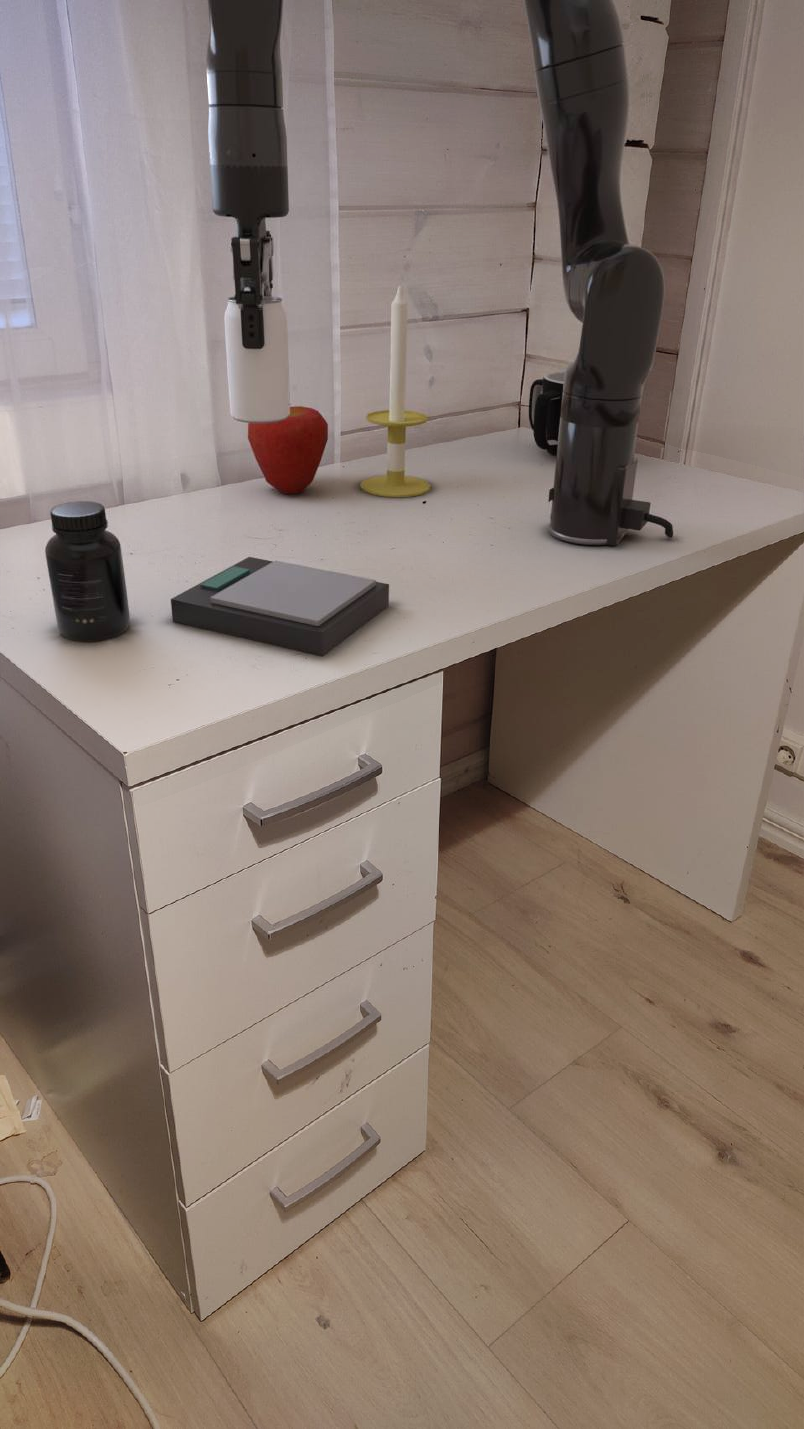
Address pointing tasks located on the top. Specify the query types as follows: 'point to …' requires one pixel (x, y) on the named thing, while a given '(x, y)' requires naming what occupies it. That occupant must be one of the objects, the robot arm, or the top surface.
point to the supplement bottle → (86, 573)
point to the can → (258, 366)
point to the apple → (290, 448)
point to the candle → (396, 416)
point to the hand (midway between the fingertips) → (257, 342)
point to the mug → (546, 410)
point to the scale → (282, 604)
